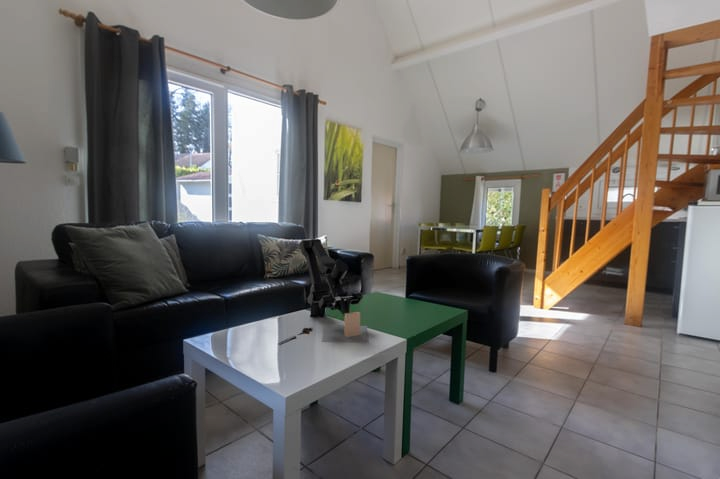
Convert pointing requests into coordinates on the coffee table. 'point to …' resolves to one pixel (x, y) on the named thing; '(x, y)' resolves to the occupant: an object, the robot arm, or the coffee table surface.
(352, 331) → the tile
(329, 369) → the coffee table surface
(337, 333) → the mat
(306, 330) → the sword
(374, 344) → the coffee table surface
